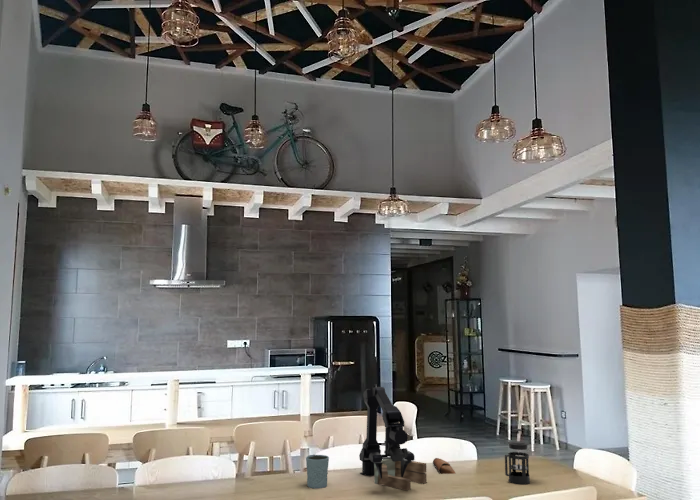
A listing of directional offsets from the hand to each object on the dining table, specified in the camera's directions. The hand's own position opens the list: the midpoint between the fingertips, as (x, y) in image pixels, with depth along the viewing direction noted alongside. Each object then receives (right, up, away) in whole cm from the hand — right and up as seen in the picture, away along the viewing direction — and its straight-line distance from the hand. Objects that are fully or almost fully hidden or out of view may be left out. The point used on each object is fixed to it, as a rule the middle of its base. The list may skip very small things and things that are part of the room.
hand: (391, 477), depth 236 cm
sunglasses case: (+29, -12, +37) cm, 48 cm away
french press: (+58, -8, +15) cm, 61 cm away
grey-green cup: (-32, -7, +7) cm, 33 cm away
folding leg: (-3, -2, +4) cm, 6 cm away
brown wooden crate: (+5, -7, +12) cm, 15 cm away
